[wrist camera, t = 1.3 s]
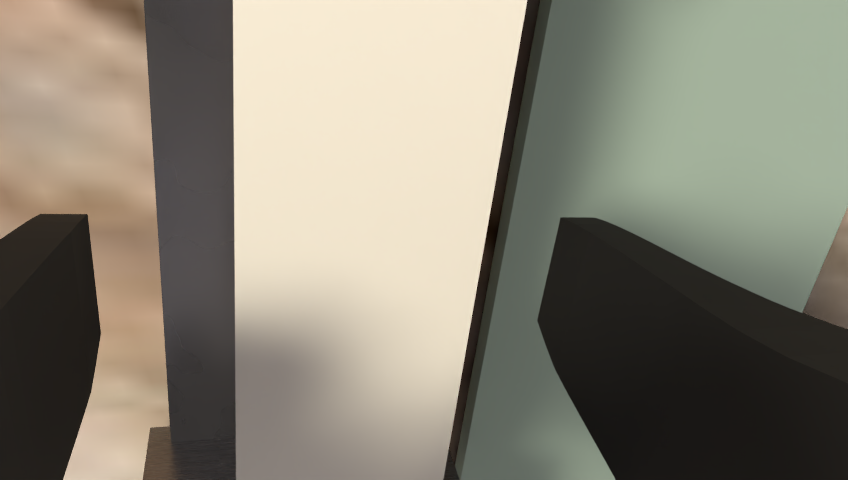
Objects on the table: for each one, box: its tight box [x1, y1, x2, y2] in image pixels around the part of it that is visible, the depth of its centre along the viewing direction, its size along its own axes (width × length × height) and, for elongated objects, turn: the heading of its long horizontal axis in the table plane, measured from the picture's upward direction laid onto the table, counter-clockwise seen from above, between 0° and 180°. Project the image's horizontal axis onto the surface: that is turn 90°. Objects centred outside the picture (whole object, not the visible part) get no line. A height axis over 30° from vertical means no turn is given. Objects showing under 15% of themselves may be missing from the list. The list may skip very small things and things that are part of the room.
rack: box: [143, 0, 459, 480], centre depth 13 cm, size 18×7×6 cm, turn 173°
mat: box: [455, 0, 848, 480], centre depth 18 cm, size 20×9×1 cm, turn 173°
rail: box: [233, 0, 527, 480], centre depth 11 cm, size 20×3×3 cm, turn 173°
